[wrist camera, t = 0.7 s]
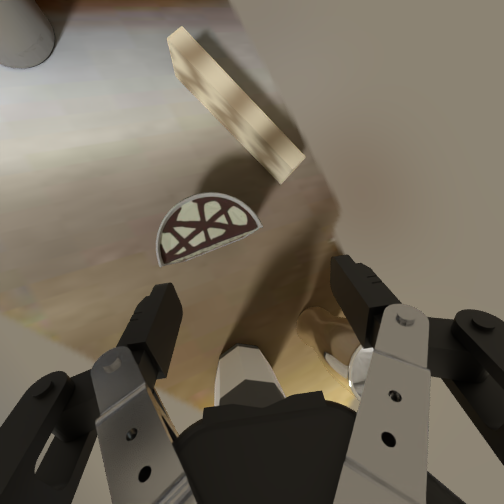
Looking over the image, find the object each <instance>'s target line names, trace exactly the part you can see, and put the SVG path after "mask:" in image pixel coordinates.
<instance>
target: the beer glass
mask: <svg viewBox="0 0 504 504" xmlns="http://www.w3.org/2000/svg"><path fill="white" fill-rule="evenodd" d="M296 331H297V334H298V337H299V338H300V340H301V341H302V342H303V343H304V344H306V345H308V346H310V347H312V348H313V349H314V350H315V352H316V354H317V356H318V358H319V359H320V361H321V363H322V364H323V366H324V367H325V369H326V370H327V371H328V372H329V373H330V375H331V376H332V377H333V378H334V379H335V380H336V381H337V382H338V383H339V384H340V385H341V386H343V387H344V388H345V389H346V390H347V391H349V392H350V393H351V394H352V395H354V396H355V397H356V398H357V399H358V400H359V401H360V400H361V396H362V392H363V388H364V384H365V380H366V377H367V373H368V369H369V365H370V361H371V357H372V353H373V350H374V349H373V348H367V349H363V347H362V345H361V344H360V342H359V340H358V338H357V336H356V335H355V333H354V331H353V329H352V327H351V325H350V324H349V322H348V320H347V318H343V317H335V316H332V315H331V314H330V313H329V312H328V311H327V310H325V309H324V308H321V307H310V308H307V309H306V310H304V311H303V312H302V313H301V314H300V316H299V317H298V320H297V323H296Z"/></svg>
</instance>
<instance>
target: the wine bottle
mask: <svg viewBox="0 0 504 504" xmlns="http://www.w3.org/2000/svg"><path fill="white" fill-rule="evenodd" d="M285 398H286V396H285V394H284V392H283V390H282V388H281V386H280V384H279V382H278V380H277V378H276V376H275V374H274V372H273V370H272V368H271V366H270V364H269V363H268V361H267V360H266V358H265V357H264V355H263V354H262V352H261V351H260V349H259V348H258V347H257V346H253V345H246V344H239V343H237V344H235V345H234V346H233V347H231V348H230V349H229V350H227V351H226V352H224V353H223V354H222V355H220V357H219V362H218V368H217V373H216V378H215V401H214V406H220V405H227V404H238V405H245V406H252V407H259V408H264V407H267V406H269V405H271V404H273V403H276V402H278V401H280V400H282V399H285Z"/></svg>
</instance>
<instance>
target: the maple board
mask: <svg viewBox="0 0 504 504" xmlns="http://www.w3.org/2000/svg"><path fill="white" fill-rule="evenodd" d="M167 41H168V46H169V50H170V54H171V58H172V63H173V67H174V71H175V76H176V77H177V78H178V79H179V80H180V81H181V82H182V83H183V85H184V86H185V87H186V88H187V89H188V90H189V91H190V92H191V93H192V94H193V95H194V96H195V97H196V98H197V99H198V100H199V101H200V102H201V103H202V104H203V105H204V106H205V107H206V108H207V109H208V110H209V111H210V112H211V113H212V114H213V115H214V116H215V117H216V118H217V119H218V121H219V122H220V123H221V124H222V125H223V126H224V127H225V128H226V129H227V130H228V131H229V132H230V133H231V134H232V135H233V136H234V137H235V138H236V139H237V140H238V141H239V142H240V143H241V144H242V145H243V146H244V147H245V148H246V149H247V150H248V151H249V152H250V153H251V154H252V155H253V157H254V158H255V159H256V160H257V161H258V162H259V163H260V164H261V165H262V166H263V167H264V168H265V169H266V170H267V171H268V172H269V173H270V174H271V175H272V176H273V177H274V178H275V179H276V180H277V181H278V182H279V183H280V184H282V183H283V182H284V181H285V180H286V179H287V178H288V177H289V176H290V175H291V174H292V173H293V172H294V170H295V169H296V168H297V167H298V166H299V165H300V163H301V162H302V161H303V160H304V159H305V157H306V156H305V155H304V154H303V153H302V152H301V151H300V150H299V149H298V148H297V147H296V146H295V145H294V144H293V143H292V142H291V141H290V140H289V139H288V138H287V136H286V135H285V134H284V133H283V132H282V131H281V130H280V129H279V128H278V127H277V126H276V125H275V124H274V123H273V122H272V121H271V120H270V119H269V117H268V116H267V115H266V114H265V113H264V112H263V111H262V110H261V109H260V108H259V107H258V106H257V105H256V104H255V103H254V102H253V101H252V100H251V98H250V97H249V96H248V95H247V94H246V93H245V92H244V91H243V90H242V89H241V88H240V87H239V86H238V85H237V84H236V83H235V82H234V81H233V79H232V78H231V77H230V76H229V75H228V74H227V73H226V72H225V71H224V70H223V69H222V68H221V67H220V66H219V65H218V64H217V63H216V62H215V60H214V59H213V58H212V57H211V56H210V55H209V54H208V53H207V52H206V51H205V50H204V49H203V48H202V47H201V46H200V45H199V44H198V43H197V42H196V40H195V39H194V38H193V37H192V36H191V35H190V34H189V33H188V32H187V31H186V30H185V29H184V28H183V27H182V26H181V27H180V28H179V29H177V30H176V31H175V32H174V33H173V34H171V35H170V36H169V37H168V38H167Z"/></svg>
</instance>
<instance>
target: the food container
mask: <svg viewBox="0 0 504 504" xmlns="http://www.w3.org/2000/svg"><path fill="white" fill-rule="evenodd" d="M261 227H262V228H263V225H262V223H261V221H260V219H259V218H258V216H257V215H256V214H255V212H254V211H253V210H252V209H251V208H250V207H249V206H248V205H246V204H245V203H244V202H243V201H241V200H239V199H237V198H236V197H233V196H230V195H228V194H224V193H219V192H205V193H199V194H195V195H192V196H190V197H187V198H185V199H183V200H182V201H180V202H179V203H177V204H176V205H175V206H174V207H173V208H172V209H171V210H170V211H169V212H168V213H167V215H166V216H165V217H164V219H163V221H162V223H161V225H160V228H159V230H158V234H157V239H156V254H157V260H158V263H159V266H160V267H162V266H165V265H170V264H175V263H180V262H184V261H187V260H190V259H192V258H195V257H197V256H200V255H202V254H205V253H207V252H210V251H212V250H215V249H217V248H220V247H223V246H225V245H228V244H230V243H233V242H235V241H238V240H240V239H243V238H245V237H246V236H248V235H250V234H251V233H253V232H254V231H256V230H258V229H259V228H261Z"/></svg>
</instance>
